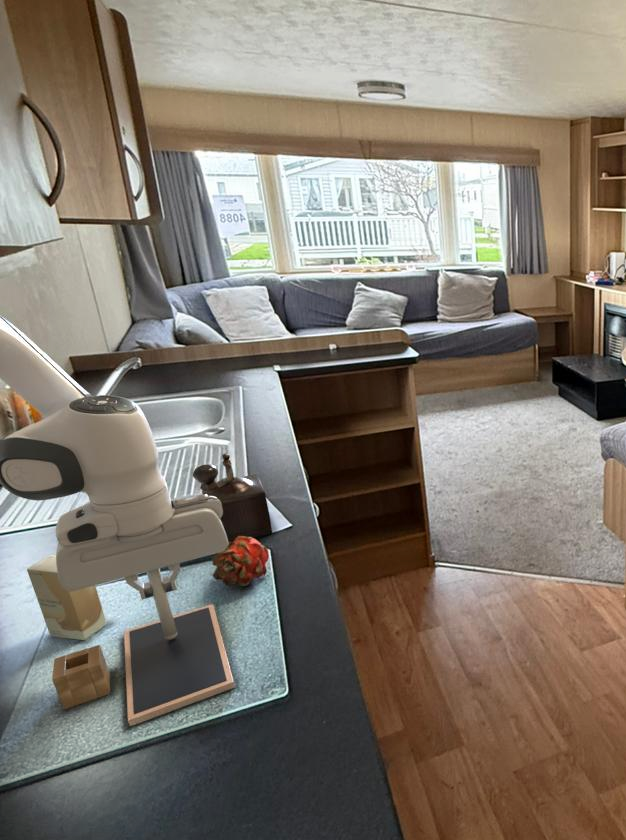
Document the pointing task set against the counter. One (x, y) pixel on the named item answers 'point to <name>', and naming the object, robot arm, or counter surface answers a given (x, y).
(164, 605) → the stylus
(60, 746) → the counter surface
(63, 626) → the cosmetic box
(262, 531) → the brown manual coffee grinder
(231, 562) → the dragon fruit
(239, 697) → the counter surface
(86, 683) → the pen stand
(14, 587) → the counter surface
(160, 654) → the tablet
